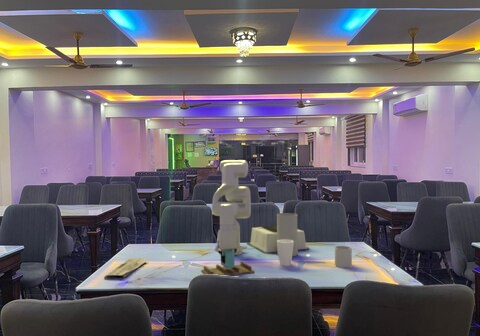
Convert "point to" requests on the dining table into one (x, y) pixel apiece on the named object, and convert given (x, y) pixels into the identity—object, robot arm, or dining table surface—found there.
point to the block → (228, 259)
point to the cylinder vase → (288, 229)
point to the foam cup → (285, 251)
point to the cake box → (271, 239)
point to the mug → (343, 256)
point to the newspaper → (126, 267)
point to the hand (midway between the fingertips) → (227, 262)
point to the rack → (229, 270)
